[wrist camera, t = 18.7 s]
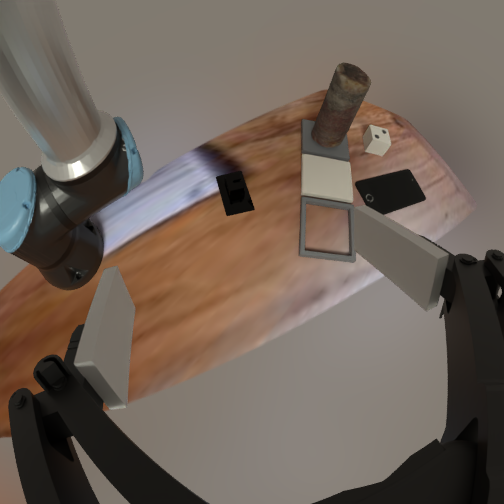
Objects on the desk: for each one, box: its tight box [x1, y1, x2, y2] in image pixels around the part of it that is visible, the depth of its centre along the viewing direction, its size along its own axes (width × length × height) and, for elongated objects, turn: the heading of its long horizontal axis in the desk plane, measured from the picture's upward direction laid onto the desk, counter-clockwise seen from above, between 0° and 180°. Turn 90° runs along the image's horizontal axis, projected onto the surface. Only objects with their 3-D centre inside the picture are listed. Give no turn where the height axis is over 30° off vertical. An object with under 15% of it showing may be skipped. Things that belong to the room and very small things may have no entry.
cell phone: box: [355, 169, 426, 215], centre depth 60 cm, size 9×18×1 cm, turn 111°
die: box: [363, 125, 391, 156], centre depth 62 cm, size 5×5×5 cm
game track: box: [299, 119, 356, 263], centre depth 58 cm, size 11×34×1 cm, turn 175°
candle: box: [311, 63, 371, 148], centre depth 52 cm, size 8×7×20 cm
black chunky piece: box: [216, 171, 255, 216], centre depth 55 cm, size 12×7×5 cm, turn 16°
